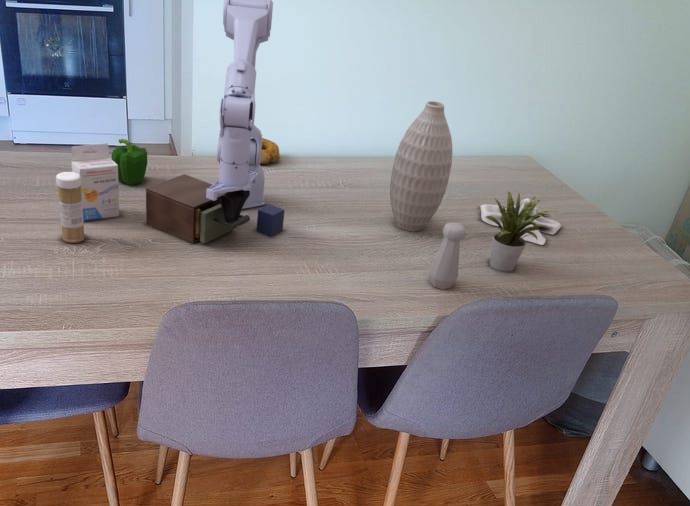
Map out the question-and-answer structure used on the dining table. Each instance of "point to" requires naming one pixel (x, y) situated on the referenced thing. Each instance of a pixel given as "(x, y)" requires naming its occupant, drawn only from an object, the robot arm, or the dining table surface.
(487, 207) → the cloth
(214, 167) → the dining table surface
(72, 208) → the sprinkles bottle
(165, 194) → the cabinet
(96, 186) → the ink box
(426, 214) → the vase
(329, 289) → the dining table surface
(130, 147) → the bell pepper
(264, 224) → the box
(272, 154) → the bagel
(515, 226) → the house plant
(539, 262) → the dining table surface
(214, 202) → the drawer
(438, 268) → the salt shaker
